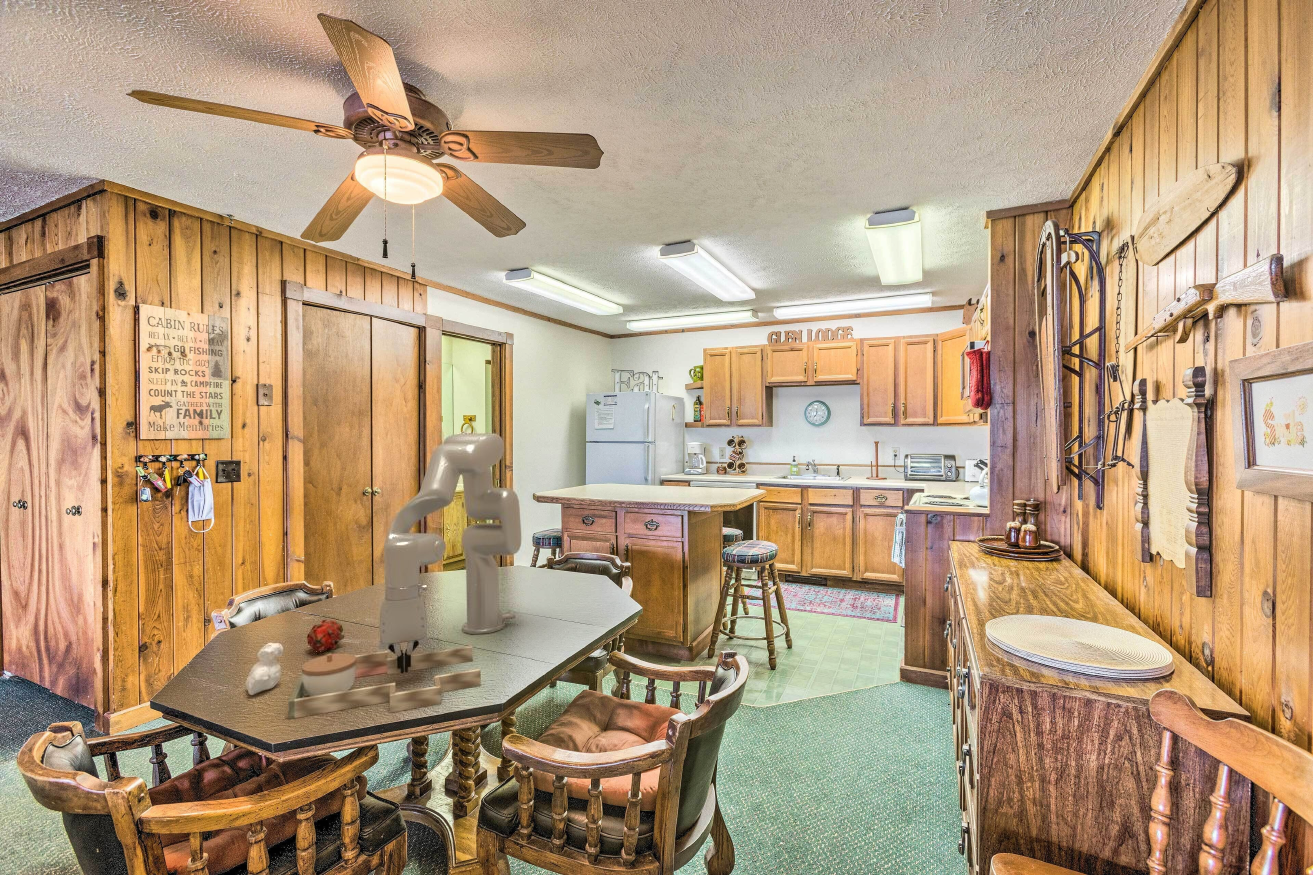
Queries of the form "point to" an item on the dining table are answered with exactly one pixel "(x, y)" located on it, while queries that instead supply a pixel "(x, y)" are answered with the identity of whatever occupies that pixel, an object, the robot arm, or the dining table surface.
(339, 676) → the lidded jar
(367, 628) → the dining table surface
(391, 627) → the robot arm
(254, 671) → the duck figurine
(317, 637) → the dragon fruit
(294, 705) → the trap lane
